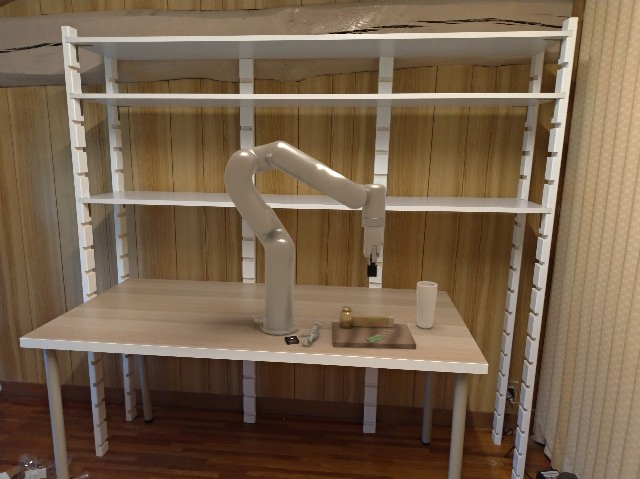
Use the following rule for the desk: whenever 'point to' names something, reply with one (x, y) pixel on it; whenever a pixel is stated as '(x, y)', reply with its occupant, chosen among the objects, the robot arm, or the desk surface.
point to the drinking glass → (426, 303)
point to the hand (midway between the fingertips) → (371, 276)
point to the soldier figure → (311, 333)
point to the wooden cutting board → (373, 336)
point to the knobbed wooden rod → (363, 319)
